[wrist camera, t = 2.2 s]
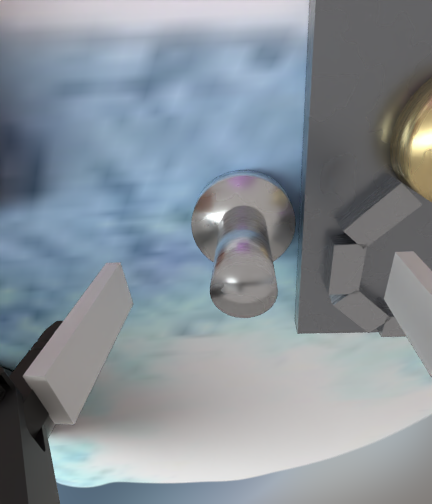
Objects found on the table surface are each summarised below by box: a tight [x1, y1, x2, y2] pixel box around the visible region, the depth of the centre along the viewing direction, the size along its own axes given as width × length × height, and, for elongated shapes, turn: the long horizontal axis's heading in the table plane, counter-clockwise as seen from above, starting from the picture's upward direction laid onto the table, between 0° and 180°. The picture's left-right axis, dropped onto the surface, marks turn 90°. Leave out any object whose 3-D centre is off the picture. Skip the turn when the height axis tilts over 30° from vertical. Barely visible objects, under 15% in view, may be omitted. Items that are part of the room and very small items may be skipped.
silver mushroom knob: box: [191, 170, 295, 318], centre depth 18 cm, size 7×7×8 cm
